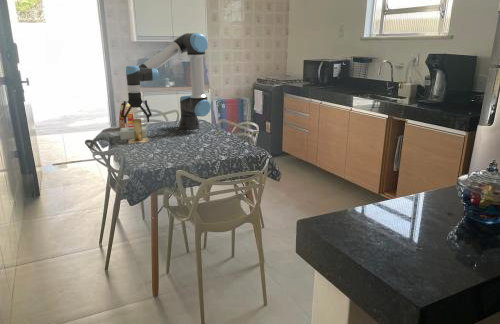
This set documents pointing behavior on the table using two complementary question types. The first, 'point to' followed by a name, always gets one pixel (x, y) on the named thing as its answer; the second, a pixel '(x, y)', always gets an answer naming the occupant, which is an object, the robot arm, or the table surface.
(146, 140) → the pad
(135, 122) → the plug
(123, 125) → the milk carton
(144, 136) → the housing
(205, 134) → the table surface
